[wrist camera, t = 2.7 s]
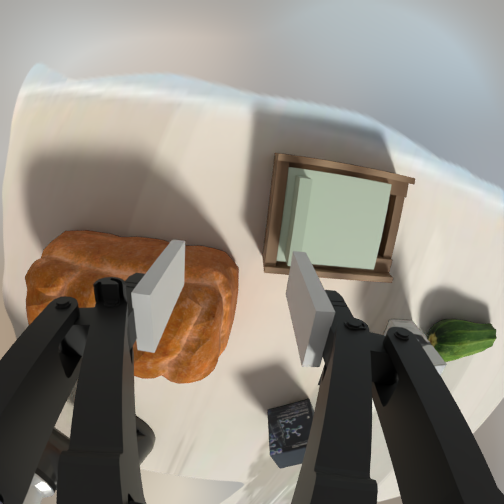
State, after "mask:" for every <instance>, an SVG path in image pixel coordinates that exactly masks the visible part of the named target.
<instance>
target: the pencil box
mask: <svg viewBox="0 0 504 504" xmlns="http://www.w3.org/2000/svg"><path fill="white" fill-rule="evenodd" d="M289 167H293V168H301V169H308V170H315V171H322V172H328V173H334V174H340V175H346V176H352V177H357V178H363V179H368V180H373V181H378V182H383V183H388V184H392V185H391V191H390V197H389V202H388V208H387V213H386V218H385V223H384V228H383V232H382V237H381V242H380V246H379V250H378V254H377V259H376V263H375V267H374V270H372V269H361V268H350V267H338V266H327V265H316V264H312V265H313V267H314V269H315V271H316V273H317V275H318V277H321V278H333V279H346V280H359V281H373V282H387V283H392V281H393V277H392V276H391V275H390V274H389V271H390V267H391V263H392V259H391V257H392V253H393V249H394V245H395V241H396V236H397V232H398V227H399V223H400V218H401V213H402V208H403V203H404V197H406V195H407V190H408V184H409V183H410V184H414V183H415V178H411V177H407V176H403V175H399V174H394V173H390V172H385V171H381V170H376V169H371V168H366V167H361V166H356V165H351V164H345V163H340V162H334V161H328V160H322V159H315V158H309V157H302V156H295V155H287V154H279V153H275V156H274V165H273V174H272V182H271V191H270V199H269V208H268V216H267V224H266V233H265V241H264V249H263V266H264V273H274V274H285V275H289V272H290V266H287V262H284V261H276V260H277V252H278V245H279V238H280V231H281V223H282V216H283V208H284V200H285V192H286V184H287V176H288V168H289Z"/></svg>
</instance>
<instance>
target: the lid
mask: <svg viewBox="0 0 504 504" xmlns="http://www.w3.org/2000/svg"><path fill="white" fill-rule="evenodd" d="M391 185H392V184H388V183H383V182H378V181H373V180H368V179H363V178H357V177H352V176H346V175H340V174H334V173H328V172H322V171H315V170H308V169H301V168H293V167H289V168H288V176H287V184H286V192H285V200H284V208H283V216H282V223H281V231H280V238H279V245H278V252H277V260H276V261H284V262H287V266H291V259H292V253H293V251H298V252H306V254H307V256H308V258H309V260H310V262H311V264H316V265H327V266H338V267H350V268H361V269H372V270H374V267H375V263H376V259H377V254H378V250H379V246H380V242H381V237H382V232H383V228H384V223H385V218H386V213H387V208H388V202H389V197H390V191H391Z"/></svg>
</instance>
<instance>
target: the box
mask: <svg viewBox="0 0 504 504" xmlns="http://www.w3.org/2000/svg"><path fill="white" fill-rule="evenodd" d="M313 416H314V410H313V407H312V405H311V402H310V399H306V400H304V401H300V402H296V403H293V404H289V405H285V406H281V407H277V408H273V409H269V410H268V428H269V448H270V456H271V457H272V459H273V460H274V461H275V463H276V464H277V465H278V467H279V468H285V467H289V466H293V465H297V464H302V463H303V459H304V455H305V451H306V447H307V443H308V439H309V434H310V430H311V426H312V421H313Z"/></svg>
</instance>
